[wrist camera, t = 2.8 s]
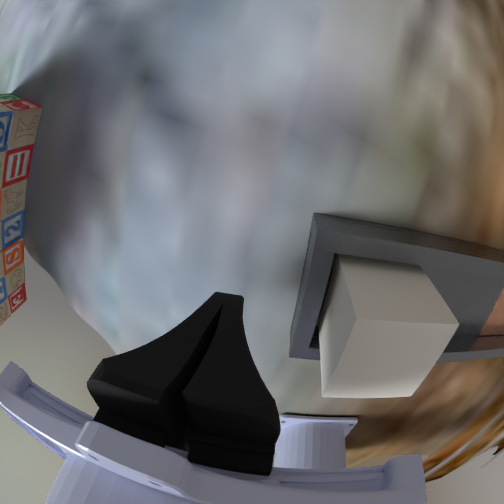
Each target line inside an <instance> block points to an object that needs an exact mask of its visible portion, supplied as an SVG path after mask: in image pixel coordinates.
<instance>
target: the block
mask: <svg viewBox="0 0 504 504" xmlns="http://www.w3.org/2000/svg"><path fill="white" fill-rule="evenodd" d="M458 326H459V323H458V321H457V319H456V318H455V316H454V315H453V313H452V312H451V310H450V308H449V307H448V305H447V304H446V302H445V301H444V299H443V298H442V296H441V295H440V293H439V292H438V291H437V289H436V288H435V286H434V285H433V283H432V282H431V281H430V279H429V278H428V276H427V275H426V274H425V272H424V271H423V270H422V268H421V267H420V266H419V265H415V264H408V263H401V262H394V261H387V260H381V259H374V258H367V257H360V256H353V255H345V254H338V253H337V254H336V258H335V263H334V267H333V271H332V275H331V279H330V283H329V286H328V290H327V294H326V298H325V301H324V305H323V308H322V312H321V315H320V319H319V322H318V329H319V343H320V360H321V380H322V397H335V398H389V397H407V396H412V394H413V393H414V392H415V391H416V389H417V388H418V387H419V385H420V384H421V383H422V381H423V380H424V379H425V377H426V376H427V375H428V373H429V372H430V370H431V369H432V367H433V366H434V365H435V363H436V362H437V360H438V359H439V357H440V356H441V354H442V352H443V351H444V349H445V348H446V346H447V345H448V343H449V341H450V340H451V338H452V336H453V335H454V333H455V331H456V329H457V328H458Z"/></svg>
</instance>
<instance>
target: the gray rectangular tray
mask: <svg viewBox="0 0 504 504" xmlns="http://www.w3.org/2000/svg"><path fill="white" fill-rule="evenodd" d="M337 253H338V254H345V255H353V256H360V257H367V258H374V259H381V260H387V261H394V262H401V263H408V264H415V265H419V266H420V267H421V268H422V270H423V271H424V272H425V274H426V275H427V276H428V278H429V279H430V281H431V282H432V283H433V285H434V286H435V288H436V289H437V291H438V292H439V293H440V295H441V296H442V298H443V299H444V301H445V302H446V304H447V305H448V307H449V308H450V310H451V312H452V313H453V315H454V316H455V318H456V319H457V321H458V323H459V326H458V328H457V329H456V331H455V333H454V335H453V336H452V338H451V340H450V341H449V343H448V345H447V346H446V348H445V349H444V351H443V352H442V354H441V356H440V357H439V359H438V360H437V362H436V363H440V362H456V361H468V360H478V359H487V358H494V357H502V356H504V251H502V250H498V249H494V248H490V247H486V246H482V245H478V244H474V243H470V242H465V241H461V240H457V239H452V238H448V237H443V236H439V235H434V234H429V233H424V232H419V231H414V230H409V229H404V228H399V227H394V226H388V225H383V224H377V223H371V222H366V221H360V220H354V219H348V218H341V217H335V216H329V215H322V214H315V213H313V219H312V225H311V231H310V237H309V242H308V248H307V253H306V259H305V264H304V269H303V274H302V279H301V284H300V289H299V294H298V299H297V304H296V308H295V313H294V317H293V322H292V326H291V331H290V349H289V357H292V358H301V359H311V360H320V343H319V329H318V322H319V319H320V315H321V312H322V308H323V305H324V301H325V298H326V294H327V290H328V286H329V283H330V279H331V275H332V271H333V267H334V263H335V258H336V254H337Z"/></svg>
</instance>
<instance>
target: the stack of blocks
mask: <svg viewBox="0 0 504 504" xmlns="http://www.w3.org/2000/svg"><path fill="white" fill-rule="evenodd" d="M42 110H43V107H41V106H39V105H37V104H35V103H33V102H30V101H28V100H24V99H22V98H20V97H18V96H16V95H14V94H12V93H9V94H0V326H1V325H2V324H3V322H5V321H6V320H7V319H8V318H9V317H10V316H11V314H12V313H13V312H14V311H15V310H17V308H19V307H20V306H21V305H22V304H23V303H24V302H25V301H26V291H25V272H24V271H25V270H24V238H23V235H24V212H25V211H24V208H25V196H26V187H27V178H28V175H29V168H30V162H31V156H32V151H33V146H34V141H35V137H36V133H37V129H38V125H39V121H40V117H41V113H42Z"/></svg>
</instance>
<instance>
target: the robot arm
mask: <svg viewBox="0 0 504 504" xmlns="http://www.w3.org/2000/svg"><path fill="white" fill-rule="evenodd" d="M243 304H244V298H243V297H242V296H240V295H234V294H227V293H221V292H215V293H214V294H213V295H212V296H211V297H210V298H209V299H208V300H207V301H206V302H205V303H204V304H203V305H201V306H200V307H199V308H198V309H197V310H196V311H195V312H194V313H193V314H191V315H190V316H189V317H188V318H187V319H185V320H184V321H183V322H181V323H180V324H179V325H178V326H176V327H175V328H173V329H172V330H170V331H169V332H167V333H166V334H164V335H163V336H161V337H159V338H157V339H155V340H153V341H151V342H149V343H148V344H146V345H143V346H141V347H139V348H136V349H134V350H131V351H128V352H126V353H123V354H119V355H116V356H112V357H109V358H105V359H103V360H102V361H101V362H100V364H99V365H98V366H97V368H96V369H95V371H94V372H93V374H92V375H91V377H90V378H89V380H88V381H87V388H88V390H89V392H90V394H91V396H92V397H93V399H94V400H95V402H96V403H97V405H98V406H99V410H98V412H97V413H96V415H95V417H92V416H90V415H88V414H86V413H84V412H82V411H80V410H79V409H77V408H75V407H73V406H71V405H69V404H68V403H66V402H64V401H62V400H60V399H59V398H57V397H55V396H54V395H52V394H50V393H49V392H47V391H46V390H44V389H43V388H41V387H39V386H38V385H36V384H35V383H33V382H32V381H31V379H30V377H29V376H28V374H27V373H26V372H25V371H24V370H23V369H22V368H20V367H19V366H18V365H16V364H15V363H14V362H12V361H11V362H10V363H9V364H8V365H7V366H6V368H5V369H4V370H3V371H2V373H1V374H0V407H1V408H2V409H3V410H4V411H5V413H6V414H7V415H8V416H9V417H10V418H11V419H12V420H13V421H15V422H16V423H17V424H18V425H20V427H22V428H23V429H24V430H25V431H26V432H28V433H29V434H30V435H32V436H33V437H34V438H35V439H37V440H38V441H39V442H40V443H42V444H43V445H45V446H46V447H47V448H49V449H50V450H51V451H53V452H54V453H56V454H57V455H58V456H60V457H61V458H63V459H64V460H65V462H64V463H63V465H62V467H61V469H60V471H59V473H58V475H57V477H56V479H55V481H54V483H53V485H52V488H51V490H50V492H49V494H48V496H47V498H46V500H45V503H44V504H425V503H426V502H427V495H426V486H425V478H424V471H423V465H422V459H421V454H420V453H417V454H412V455H406V456H400V457H396V458H393V459H391V460H389V461H388V462H387V463H386V464H385V465H380V466H371V467H360V468H346V450H345V437H346V436H347V435H348V433H349V432H350V431H351V430H352V429H353V427H354V426H355V425H356V424H357V423H358V418H355V417H353V418H344V417H312V416H298V415H286V414H283V415H280V416H279V414H278V410H277V406H276V403H275V400H274V398H273V397H272V395H271V394H270V392H269V391H268V389H267V388H266V386H265V384H264V382H263V380H262V379H261V377H260V375H259V372H258V370H257V368H256V366H255V364H254V361H253V359H252V356H251V353H250V350H249V347H248V344H247V340H246V336H245V331H244V325H243V318H242V317H243ZM275 451H276V452H275ZM274 453H275V460H274V467H272V463H273V455H274Z"/></svg>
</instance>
